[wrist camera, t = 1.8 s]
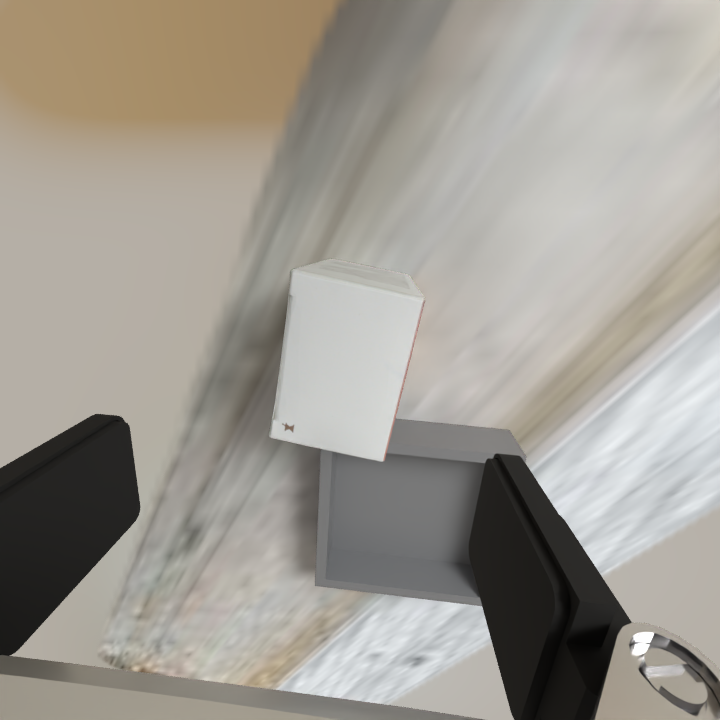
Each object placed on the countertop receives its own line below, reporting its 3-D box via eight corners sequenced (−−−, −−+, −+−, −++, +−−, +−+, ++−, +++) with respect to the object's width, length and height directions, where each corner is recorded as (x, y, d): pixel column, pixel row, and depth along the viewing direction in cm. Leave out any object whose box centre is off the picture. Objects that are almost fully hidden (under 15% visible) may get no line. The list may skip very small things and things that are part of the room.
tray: (329, 412, 28) (321, 435, 24) (509, 430, 27) (526, 456, 24) (322, 549, 32) (314, 585, 29) (477, 567, 31) (488, 606, 28)
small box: (385, 382, 27) (384, 468, 17) (311, 366, 27) (265, 442, 17) (412, 273, 24) (430, 297, 14) (330, 255, 24) (288, 267, 14)
